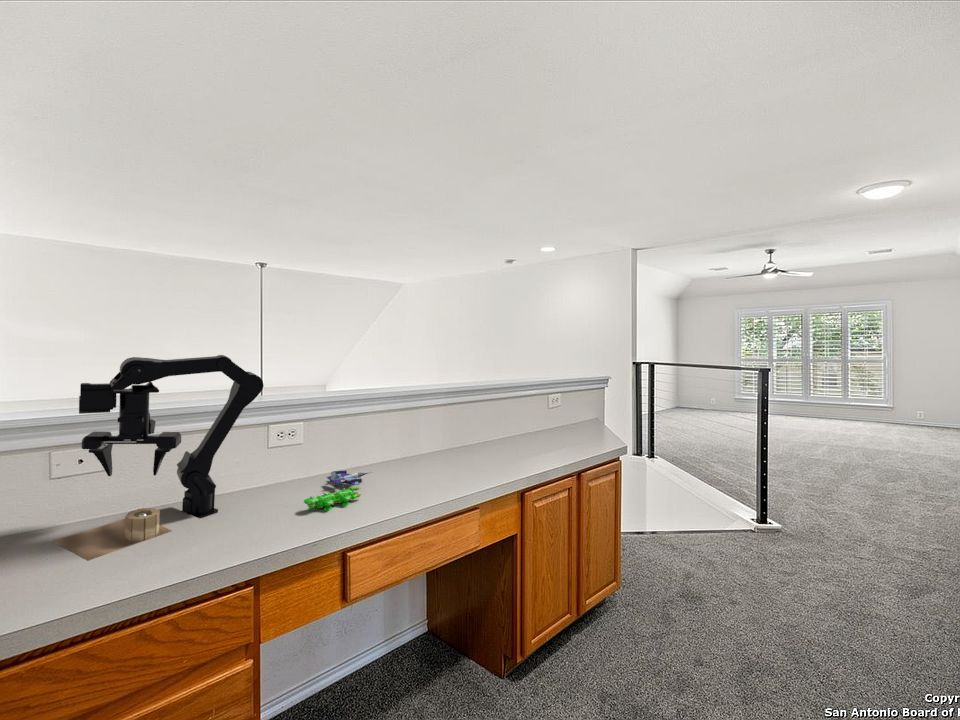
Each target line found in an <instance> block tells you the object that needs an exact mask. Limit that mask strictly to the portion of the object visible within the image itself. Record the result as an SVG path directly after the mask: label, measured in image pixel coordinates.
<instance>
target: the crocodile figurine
mask: <svg viewBox="0 0 960 720" xmlns="http://www.w3.org/2000/svg"><path fill="white" fill-rule="evenodd" d="M360 489H361V488H360V487H355V486H349V487H348V488H345V487H344V488H343V489H341V490H338V491H334V492H332V493H331V492H328V493H326V492H322V495H317V496H313V495H311V496H309V497H307V498H305V499H304V500H303V503H304V504H306V505H307V507H308V508H307V510H308V511H311V510H312V509H313V508H315V506H316V508H317V509H323V508H324V509H323V510H324V511H326V512H327V511H331V510H332V509H333V507H332V506H334V505H335V504H337V503H338V504H341V506H343V507H347V506H349V505H350V504H351V503H350V502H349V501H355V500H356V499H357V498H360V497H361V496H362V495H363V494H362V493H359V492H358V491H360Z"/></svg>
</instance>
